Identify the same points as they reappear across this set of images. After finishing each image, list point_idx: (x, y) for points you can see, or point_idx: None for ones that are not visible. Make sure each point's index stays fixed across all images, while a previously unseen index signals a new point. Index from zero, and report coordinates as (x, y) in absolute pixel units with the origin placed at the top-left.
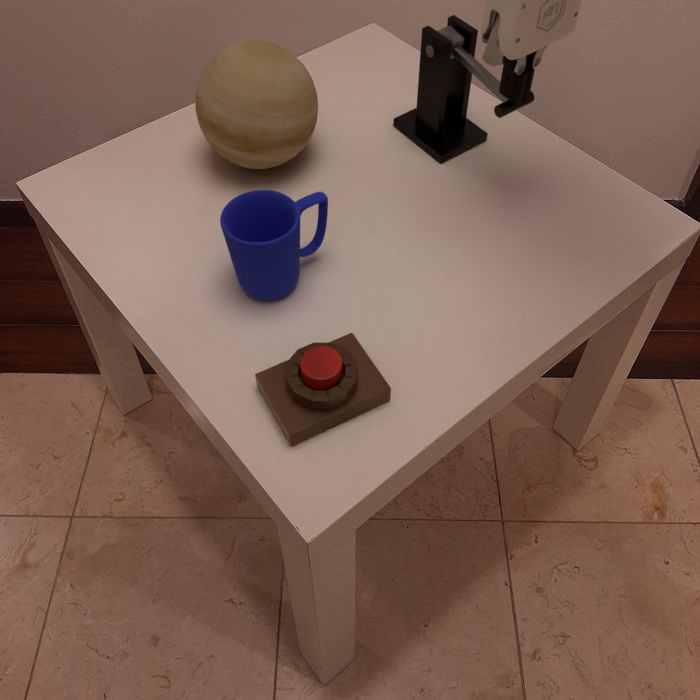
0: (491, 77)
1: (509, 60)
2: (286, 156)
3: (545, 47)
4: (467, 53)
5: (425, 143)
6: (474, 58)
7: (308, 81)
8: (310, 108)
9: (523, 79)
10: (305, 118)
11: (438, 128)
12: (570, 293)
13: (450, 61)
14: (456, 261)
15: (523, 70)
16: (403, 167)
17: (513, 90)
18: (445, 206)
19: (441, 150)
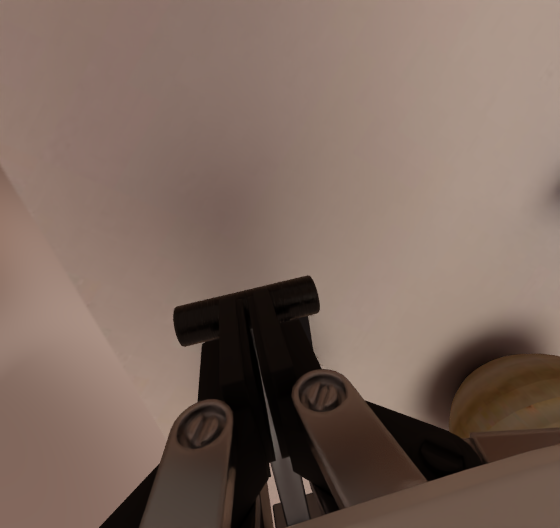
0: (271, 418)
1: (459, 450)
2: (535, 358)
3: (112, 521)
4: (287, 509)
5: (311, 340)
6: (278, 491)
7: None
8: (543, 424)
9: (286, 347)
10: (553, 407)
11: None
12: None
13: (266, 489)
14: (417, 71)
15: (296, 387)
16: (354, 310)
17: (291, 330)
18: (352, 207)
19: (298, 318)
